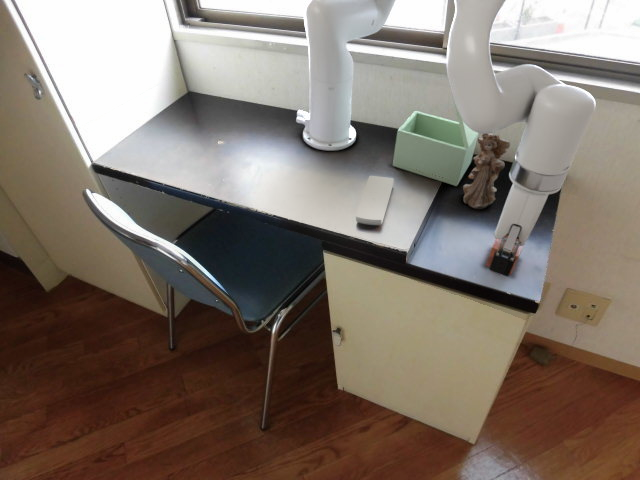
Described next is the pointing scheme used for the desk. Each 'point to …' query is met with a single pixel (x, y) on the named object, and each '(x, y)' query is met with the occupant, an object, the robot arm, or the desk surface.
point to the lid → (465, 131)
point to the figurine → (485, 171)
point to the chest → (432, 148)
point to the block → (496, 246)
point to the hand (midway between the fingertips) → (506, 254)
